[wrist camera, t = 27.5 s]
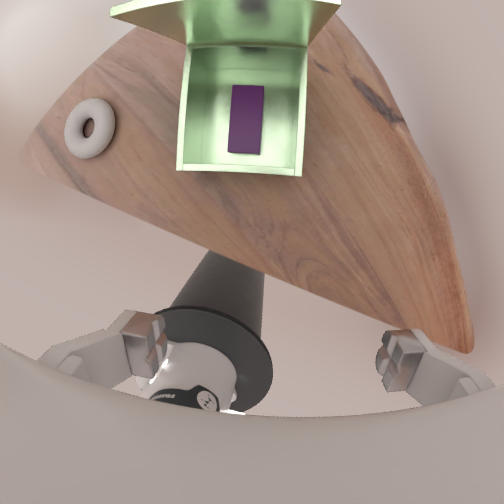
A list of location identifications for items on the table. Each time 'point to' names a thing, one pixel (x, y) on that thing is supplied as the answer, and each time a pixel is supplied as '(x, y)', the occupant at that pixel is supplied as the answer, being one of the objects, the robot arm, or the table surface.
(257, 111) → the purple rectangular block
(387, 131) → the table surface
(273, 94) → the green metal box
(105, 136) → the donut
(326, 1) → the green box lid
